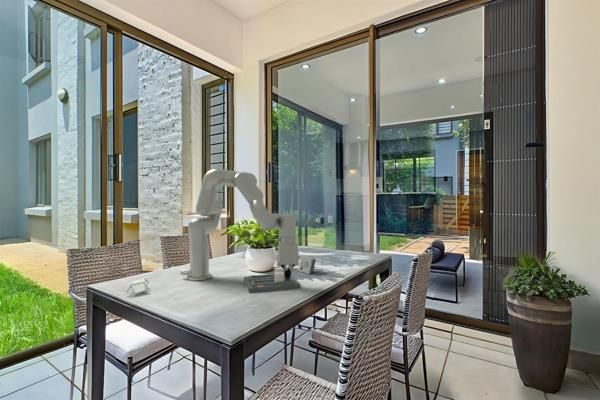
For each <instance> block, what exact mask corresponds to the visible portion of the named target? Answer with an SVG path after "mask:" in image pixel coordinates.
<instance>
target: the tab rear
mask: <svg viewBox="0 0 600 400" xmlns="http://www.w3.org/2000/svg"><path fill="white" fill-rule="evenodd" d="M274 272H283V273H284V269H283V268H282V267H274Z"/></svg>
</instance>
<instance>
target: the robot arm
mask: <svg viewBox="0 0 600 400" xmlns="http://www.w3.org/2000/svg"><path fill="white" fill-rule="evenodd" d="M201 183H202V184H201V188H200V191H199V193H198V194H199V195H198V198H197V202H196V204H195V205H196V206H195V212H196V213H197V214H198V216H200V217H195V218H192V219H190V221H189V222H188V223H187V233H188V238H189V269H187V270H180V275H182V276H186V279H187V280H188V281H206V280H209V279H211V278H212V277H213V275H212V273H210V247H209V246H210V244H209V243H210V242H209V238H208V236H207V235H210V234H213V233H214V232H216V230H217V229H218V225H219V222H220V220H221V215H222V212H223V204H222V201H221V200H220V199H218V198H217V196H218V192H219V191H218V187H232V188H236V189H238V191H239V192H240V193H241V194H242V196H243V198H244V199H245V200H246V202H247V203H248V204H249V205H248V206H249V208H250V212H251V214H252V216H253V219H254V220H256V223H258V225H259V226H260V227H261V228H262V229H263V230H265V231H271V230H277V229H279V237H276V241H277V242H278V246H277V251H276V266H277V268H280V267H282V268H283V269H284V276H285V278H286V279H290V276H291V275H292V270H293V268H295V267H296V266H299V265H300V255H299V253H300V252H299V245H298V242H296V229H297V225H296V219H297V217H296V215H295V214H288V213H287V214H281V213H270V212H269V210H268V209H267V208H266V206H265V204H264V199H263V198H264V193H263V191H262V190H261V189H260V188H259V187H258V185H257V184H258V179H257V177H256V175H254V174H253V173H250V172H245V171H235V170H230V169H229V170H228V169H223V168H214V169H210V170H208V171H207V172H206V173H205V174H204V175H203V179H202V182H201Z"/></svg>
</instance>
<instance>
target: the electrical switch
mask: <svg viewBox="0 0 600 400" xmlns="http://www.w3.org/2000/svg"><path fill="white" fill-rule="evenodd" d="M316 261H317V260H316V259H314V257H313V256H307V255H302V254H301V256H300V259H299V265H298V272H300V273H303V274H307V275H310V274H313V273H314V270H315V265H316Z"/></svg>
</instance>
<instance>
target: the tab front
mask: <svg viewBox="0 0 600 400" xmlns="http://www.w3.org/2000/svg"><path fill="white" fill-rule="evenodd" d="M273 274H274V282H281V281H284V273H283V272H275V271H274V273H273Z"/></svg>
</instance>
